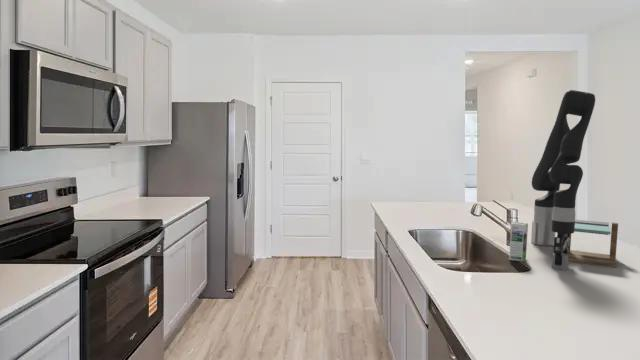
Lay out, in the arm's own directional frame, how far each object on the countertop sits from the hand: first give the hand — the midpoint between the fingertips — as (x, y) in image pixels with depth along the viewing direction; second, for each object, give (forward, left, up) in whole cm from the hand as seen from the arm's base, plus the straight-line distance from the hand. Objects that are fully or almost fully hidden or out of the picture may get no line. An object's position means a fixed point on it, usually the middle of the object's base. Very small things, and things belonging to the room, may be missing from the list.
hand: (560, 263), depth 174 cm
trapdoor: (+16, +19, +8) cm, 26 cm away
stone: (0, 0, -2) cm, 2 cm away
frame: (+15, +17, -2) cm, 23 cm away
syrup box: (-13, +8, -2) cm, 16 cm away
